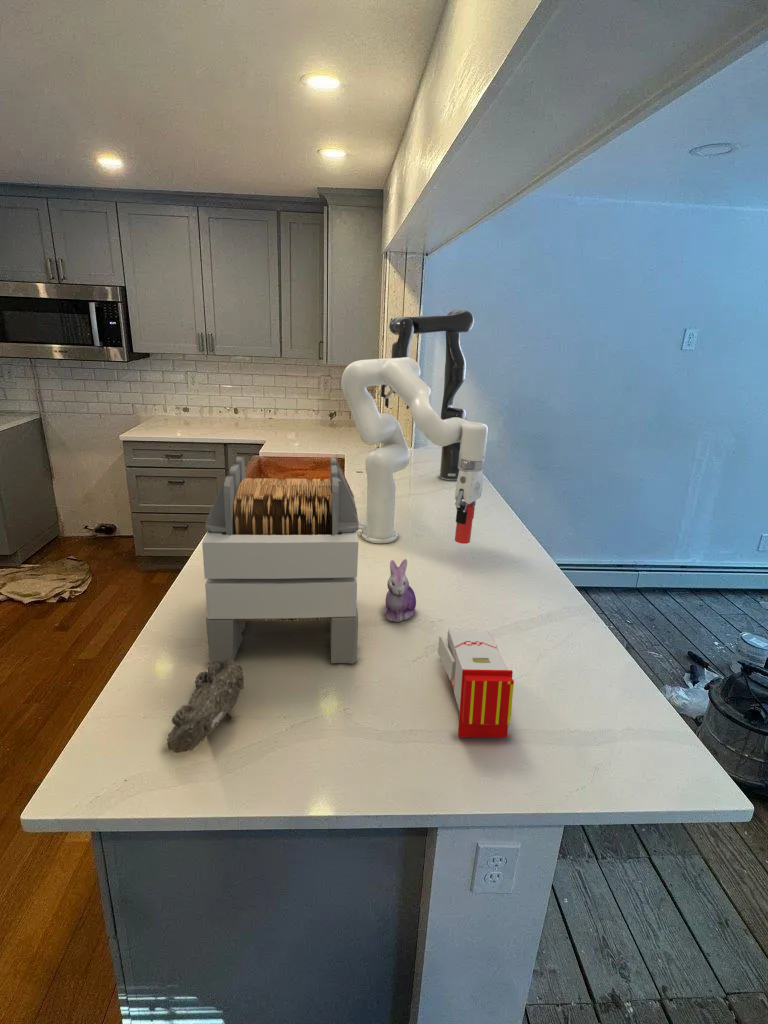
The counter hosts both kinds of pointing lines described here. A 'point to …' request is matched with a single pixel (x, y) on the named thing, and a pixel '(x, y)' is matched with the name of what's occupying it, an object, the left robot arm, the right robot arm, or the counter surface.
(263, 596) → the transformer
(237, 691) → the fossil
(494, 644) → the toy
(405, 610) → the figurine
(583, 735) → the counter surface
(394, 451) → the left robot arm
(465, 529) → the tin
